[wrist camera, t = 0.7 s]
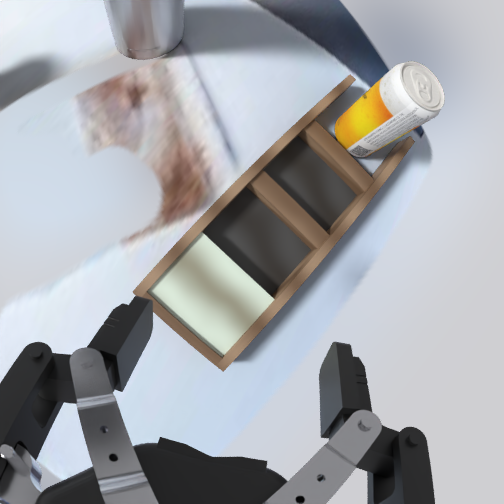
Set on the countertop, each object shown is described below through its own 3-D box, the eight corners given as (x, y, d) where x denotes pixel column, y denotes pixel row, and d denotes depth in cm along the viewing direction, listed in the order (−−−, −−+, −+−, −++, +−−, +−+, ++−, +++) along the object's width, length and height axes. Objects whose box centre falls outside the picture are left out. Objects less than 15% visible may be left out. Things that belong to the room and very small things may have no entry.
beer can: (372, 121, 39) (441, 70, 24) (374, 163, 38) (452, 122, 24) (331, 111, 38) (393, 49, 23) (332, 154, 37) (401, 102, 23)
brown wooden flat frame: (220, 363, 34) (223, 371, 31) (137, 289, 33) (132, 292, 30) (402, 148, 39) (414, 141, 36) (340, 84, 38) (350, 74, 35)
